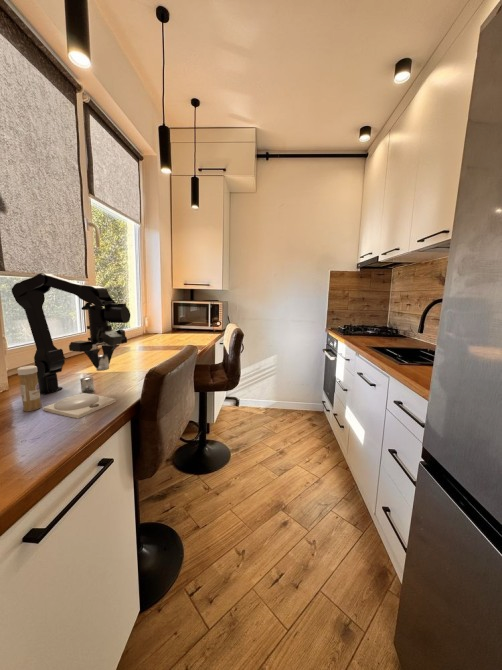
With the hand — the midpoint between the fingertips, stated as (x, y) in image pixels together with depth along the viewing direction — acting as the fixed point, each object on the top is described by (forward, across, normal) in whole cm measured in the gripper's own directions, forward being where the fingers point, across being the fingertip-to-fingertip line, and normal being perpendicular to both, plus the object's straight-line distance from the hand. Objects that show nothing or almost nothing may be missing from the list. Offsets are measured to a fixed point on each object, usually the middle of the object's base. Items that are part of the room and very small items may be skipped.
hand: (102, 366), depth 93 cm
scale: (+10, -11, -3) cm, 15 cm away
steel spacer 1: (+10, -1, +7) cm, 12 cm away
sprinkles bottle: (+10, -18, +9) cm, 23 cm away
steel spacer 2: (+1, 0, 0) cm, 1 cm away
